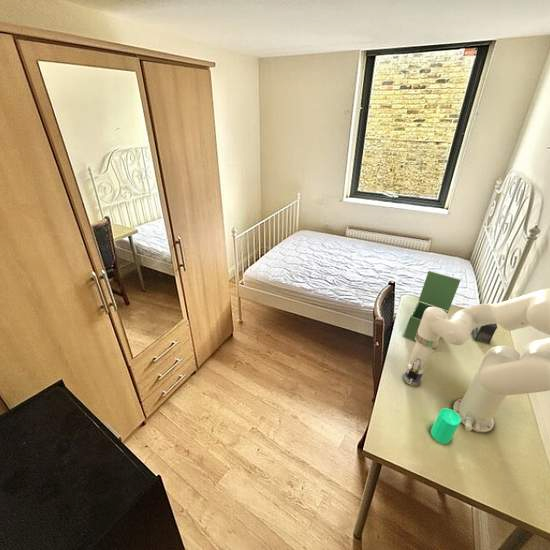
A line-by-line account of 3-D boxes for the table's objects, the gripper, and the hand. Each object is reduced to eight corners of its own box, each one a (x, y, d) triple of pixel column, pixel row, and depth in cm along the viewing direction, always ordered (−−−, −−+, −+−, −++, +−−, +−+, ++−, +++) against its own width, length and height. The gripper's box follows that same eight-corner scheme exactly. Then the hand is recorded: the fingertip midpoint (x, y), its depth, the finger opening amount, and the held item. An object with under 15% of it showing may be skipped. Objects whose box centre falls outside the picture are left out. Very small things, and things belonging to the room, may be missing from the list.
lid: (460, 280, 131) (460, 279, 132) (428, 271, 138) (428, 270, 139) (448, 310, 139) (448, 310, 139) (418, 300, 145) (418, 300, 146)
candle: (452, 434, 99) (464, 412, 93) (447, 447, 95) (459, 425, 89) (434, 423, 103) (444, 401, 97) (428, 435, 99) (438, 413, 93)
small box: (470, 327, 148) (478, 310, 143) (485, 330, 146) (493, 314, 141) (473, 340, 140) (481, 323, 134) (489, 344, 138) (498, 327, 132)
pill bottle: (420, 378, 119) (426, 361, 114) (417, 388, 115) (424, 371, 110) (405, 372, 122) (411, 355, 117) (402, 382, 118) (408, 364, 113)
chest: (434, 348, 134) (442, 328, 128) (403, 336, 141) (410, 316, 135) (440, 330, 145) (448, 311, 139) (412, 320, 152) (418, 301, 146)
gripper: (421, 321, 115) (410, 353, 124) (410, 347, 103) (398, 380, 112) (442, 329, 111) (429, 361, 120) (433, 356, 99) (419, 390, 108)
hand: (414, 370), depth 116 cm, fingers open, 8 cm apart
